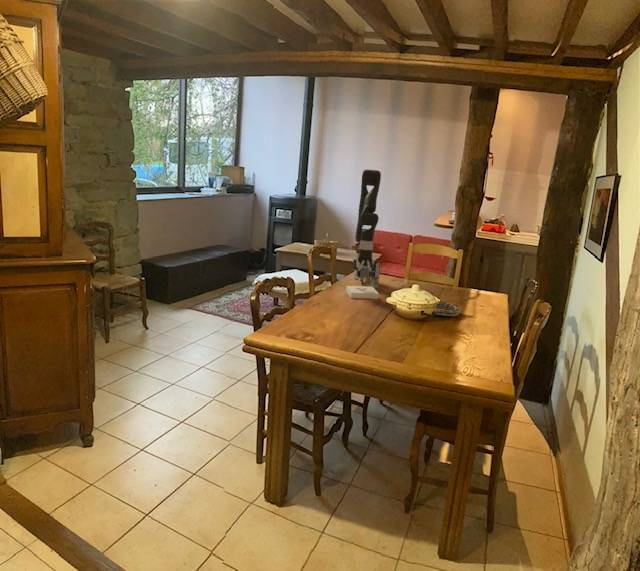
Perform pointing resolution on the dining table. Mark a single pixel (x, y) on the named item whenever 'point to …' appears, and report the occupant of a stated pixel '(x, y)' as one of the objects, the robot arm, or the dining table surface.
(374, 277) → the coffee box
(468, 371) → the dining table surface
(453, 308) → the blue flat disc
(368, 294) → the socket board
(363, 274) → the plug
